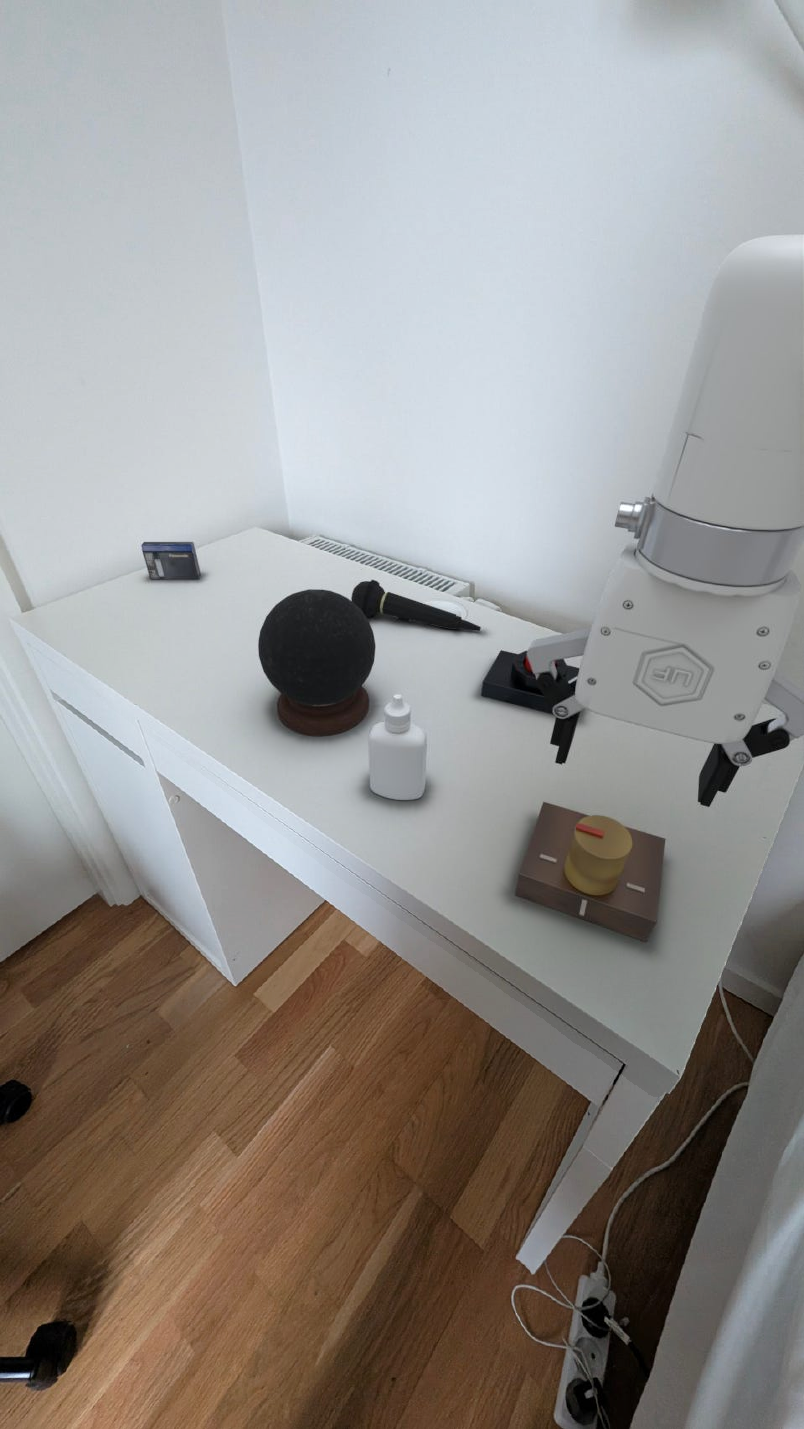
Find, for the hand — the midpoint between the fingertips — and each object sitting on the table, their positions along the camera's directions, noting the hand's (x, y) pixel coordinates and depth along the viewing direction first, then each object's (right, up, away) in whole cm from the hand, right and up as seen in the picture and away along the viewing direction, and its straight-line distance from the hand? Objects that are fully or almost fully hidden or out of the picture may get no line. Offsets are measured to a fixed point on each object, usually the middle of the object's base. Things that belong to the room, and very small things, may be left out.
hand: (631, 771), depth 41 cm
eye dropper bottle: (-17, -4, +19) cm, 26 cm away
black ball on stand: (-26, +5, +30) cm, 40 cm away
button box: (+1, +7, +33) cm, 33 cm away
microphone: (-15, +18, +46) cm, 51 cm away
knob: (0, -9, +7) cm, 12 cm away
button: (+1, +10, +30) cm, 32 cm away
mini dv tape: (-55, +27, +58) cm, 84 cm away
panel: (0, -10, +11) cm, 15 cm away
